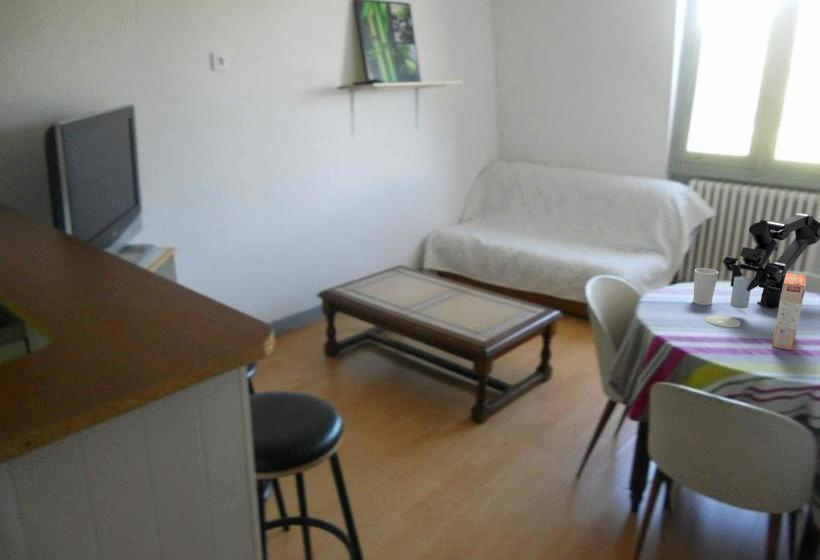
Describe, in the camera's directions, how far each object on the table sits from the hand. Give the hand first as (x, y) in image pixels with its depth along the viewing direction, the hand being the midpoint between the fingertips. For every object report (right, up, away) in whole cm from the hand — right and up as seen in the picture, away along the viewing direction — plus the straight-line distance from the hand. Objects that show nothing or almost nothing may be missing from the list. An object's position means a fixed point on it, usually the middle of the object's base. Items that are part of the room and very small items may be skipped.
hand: (739, 288), depth 225 cm
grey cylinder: (+1, -6, +3) cm, 7 cm away
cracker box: (+4, -17, -19) cm, 26 cm away
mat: (-6, -11, -1) cm, 13 cm away
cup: (-4, -6, +19) cm, 20 cm away
